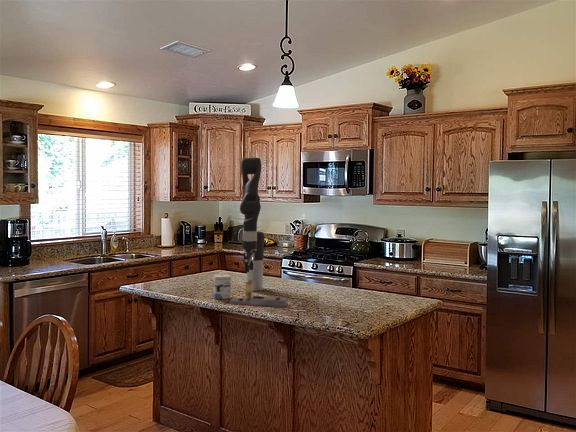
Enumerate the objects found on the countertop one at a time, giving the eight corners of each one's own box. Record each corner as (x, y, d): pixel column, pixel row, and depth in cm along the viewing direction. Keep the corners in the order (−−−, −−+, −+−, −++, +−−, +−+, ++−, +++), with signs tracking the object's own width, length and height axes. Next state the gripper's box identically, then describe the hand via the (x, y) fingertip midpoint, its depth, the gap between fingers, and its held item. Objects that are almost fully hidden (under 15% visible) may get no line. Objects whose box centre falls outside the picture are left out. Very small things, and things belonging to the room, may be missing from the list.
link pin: (245, 299, 272) (246, 280, 271) (253, 299, 271) (254, 280, 271) (243, 300, 268) (244, 281, 267) (251, 301, 267) (252, 282, 266)
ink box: (214, 299, 270) (214, 276, 270) (213, 297, 275) (213, 275, 275) (230, 298, 273) (231, 276, 272) (229, 296, 277) (229, 274, 277)
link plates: (233, 300, 267) (233, 293, 267) (287, 304, 262) (287, 296, 262) (229, 303, 260) (230, 296, 260) (285, 307, 256) (285, 299, 255)
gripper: (246, 238, 276) (245, 268, 276) (238, 240, 262) (238, 272, 262) (260, 239, 274) (259, 269, 275) (253, 241, 260) (252, 273, 261)
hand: (249, 271), depth 269 cm, fingers open, 8 cm apart
